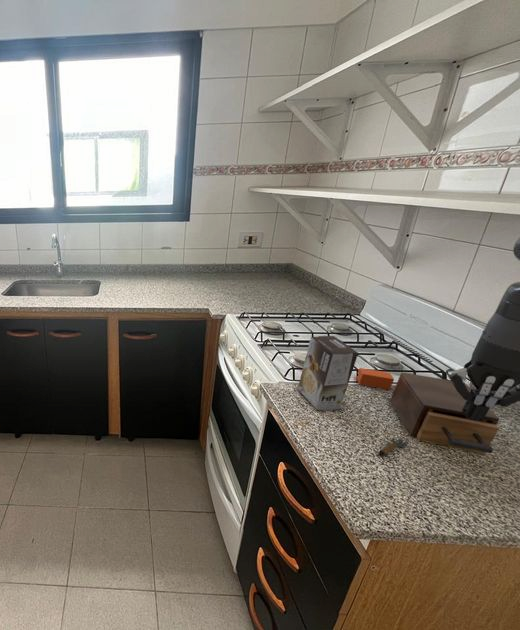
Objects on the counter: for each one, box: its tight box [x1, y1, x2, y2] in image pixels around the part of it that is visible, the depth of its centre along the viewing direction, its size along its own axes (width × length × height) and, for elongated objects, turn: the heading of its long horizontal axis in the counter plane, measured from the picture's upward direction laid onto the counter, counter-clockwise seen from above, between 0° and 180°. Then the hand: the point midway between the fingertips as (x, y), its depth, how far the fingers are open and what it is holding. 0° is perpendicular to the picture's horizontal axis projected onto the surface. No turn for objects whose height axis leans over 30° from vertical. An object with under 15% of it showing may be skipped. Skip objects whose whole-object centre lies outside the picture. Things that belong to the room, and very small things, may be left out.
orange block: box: [355, 367, 395, 391], centre depth 94 cm, size 7×3×3 cm, turn 68°
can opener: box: [378, 437, 408, 457], centre depth 73 cm, size 9×2×1 cm, turn 112°
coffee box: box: [297, 335, 359, 411], centre depth 86 cm, size 9×6×16 cm
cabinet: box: [389, 372, 500, 439], centre depth 79 cm, size 14×12×9 cm
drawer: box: [416, 409, 500, 455], centre depth 75 cm, size 17×11×7 cm, turn 158°
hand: (471, 417), depth 68 cm, fingers closed
